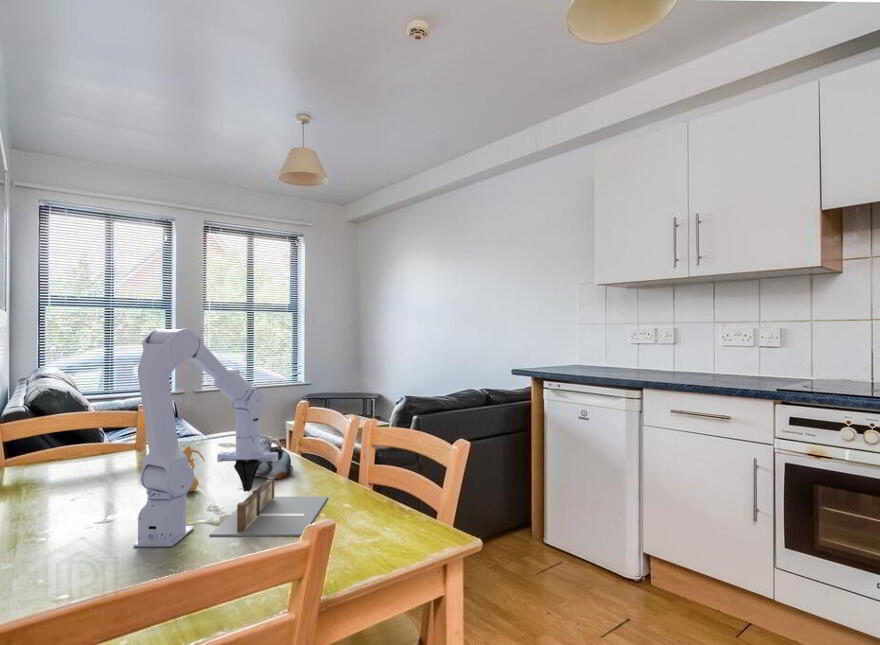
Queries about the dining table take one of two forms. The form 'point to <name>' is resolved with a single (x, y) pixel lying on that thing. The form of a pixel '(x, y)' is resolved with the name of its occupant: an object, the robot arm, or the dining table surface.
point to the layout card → (276, 518)
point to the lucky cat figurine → (277, 468)
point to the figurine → (188, 453)
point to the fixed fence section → (248, 511)
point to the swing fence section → (266, 492)
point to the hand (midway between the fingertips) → (247, 490)
